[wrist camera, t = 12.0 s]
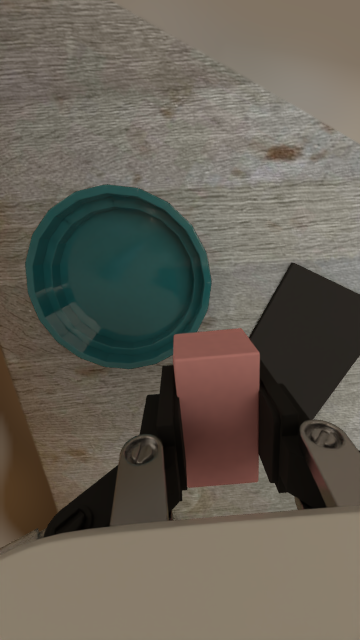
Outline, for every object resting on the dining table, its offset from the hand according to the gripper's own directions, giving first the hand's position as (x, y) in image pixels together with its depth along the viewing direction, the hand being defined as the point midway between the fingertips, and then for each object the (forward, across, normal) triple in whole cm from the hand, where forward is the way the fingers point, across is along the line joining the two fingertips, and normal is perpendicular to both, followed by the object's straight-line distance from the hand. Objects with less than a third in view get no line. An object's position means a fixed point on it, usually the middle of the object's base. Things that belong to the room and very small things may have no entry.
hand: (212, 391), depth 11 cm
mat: (+15, -11, +6) cm, 19 cm away
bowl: (+15, +6, -4) cm, 16 cm away
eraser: (0, 0, 0) cm, 0 cm away
